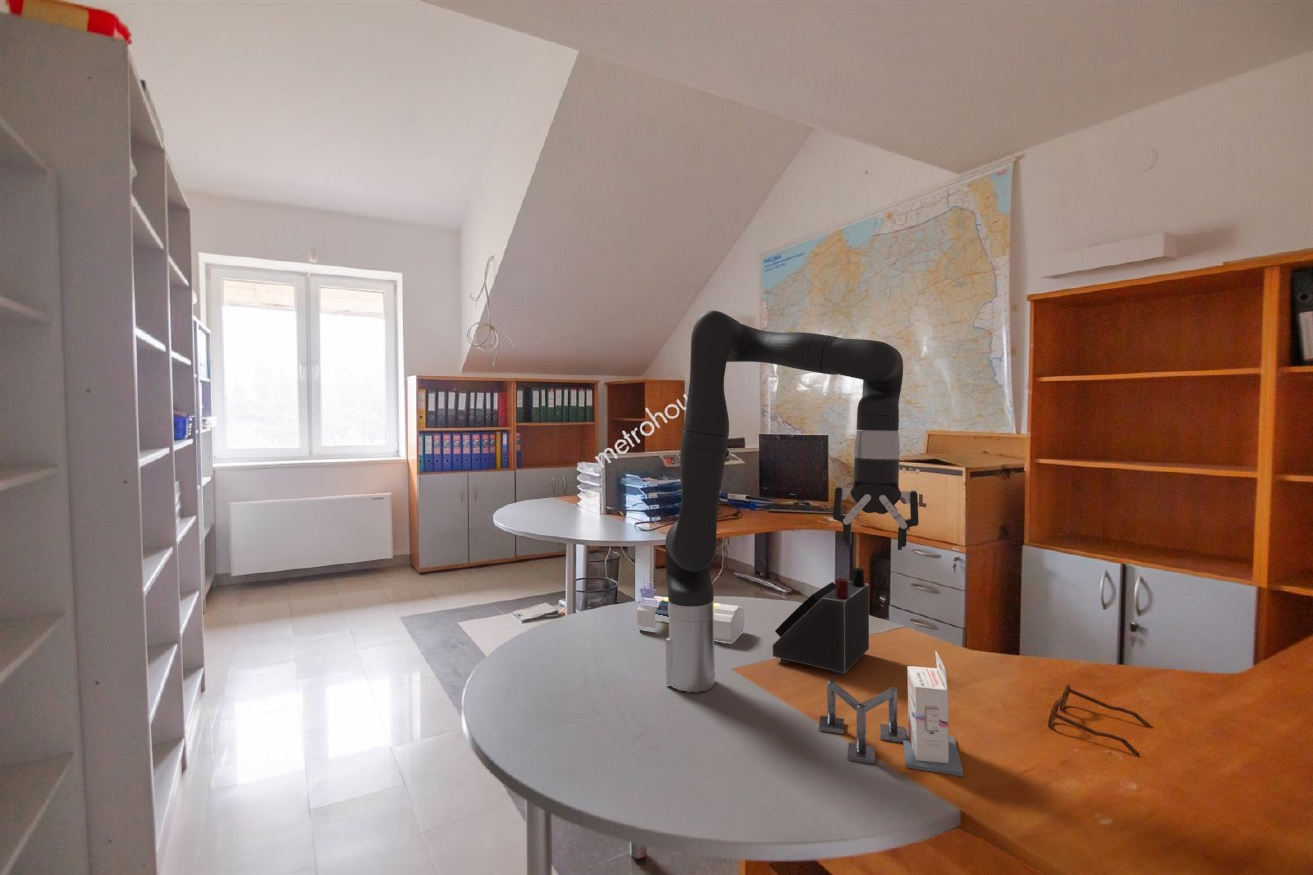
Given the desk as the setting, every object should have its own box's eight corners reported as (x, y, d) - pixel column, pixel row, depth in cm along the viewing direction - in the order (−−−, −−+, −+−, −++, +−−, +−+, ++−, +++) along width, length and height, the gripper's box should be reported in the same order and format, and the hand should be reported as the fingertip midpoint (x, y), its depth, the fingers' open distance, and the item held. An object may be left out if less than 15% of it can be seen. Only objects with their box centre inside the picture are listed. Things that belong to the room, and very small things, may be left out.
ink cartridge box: (906, 733, 104) (905, 647, 104) (938, 736, 103) (937, 649, 102) (915, 761, 96) (914, 667, 95) (949, 765, 94) (949, 669, 94)
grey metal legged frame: (815, 755, 99) (814, 705, 99) (820, 720, 110) (820, 675, 110) (909, 769, 94) (909, 718, 94) (905, 731, 106) (905, 685, 106)
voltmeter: (800, 640, 150) (799, 558, 149) (868, 655, 140) (868, 567, 140) (771, 662, 137) (770, 572, 136) (844, 680, 127) (844, 583, 126)
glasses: (1063, 706, 115) (1064, 679, 115) (1153, 730, 106) (1153, 701, 106) (1046, 732, 106) (1046, 703, 106) (1142, 761, 97) (1142, 730, 97)
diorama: (637, 633, 158) (636, 582, 157) (654, 620, 167) (653, 572, 166) (730, 647, 147) (730, 592, 146) (743, 633, 156) (743, 581, 156)
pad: (905, 767, 95) (905, 763, 95) (902, 732, 106) (902, 729, 105) (963, 776, 93) (963, 772, 92) (953, 739, 103) (953, 736, 103)
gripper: (832, 455, 109) (830, 547, 109) (921, 458, 104) (918, 555, 104) (836, 453, 116) (834, 539, 116) (919, 456, 111) (916, 546, 111)
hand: (874, 547), depth 110 cm, fingers open, 8 cm apart
